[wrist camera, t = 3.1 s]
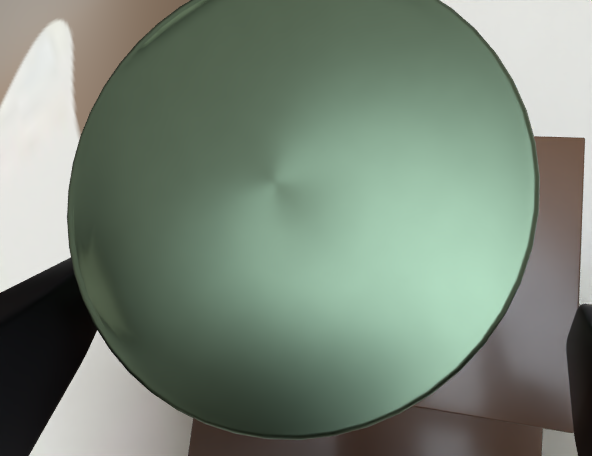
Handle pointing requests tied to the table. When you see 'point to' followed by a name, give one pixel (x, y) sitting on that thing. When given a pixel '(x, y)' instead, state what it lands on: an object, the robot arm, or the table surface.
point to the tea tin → (303, 209)
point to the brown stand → (482, 356)
